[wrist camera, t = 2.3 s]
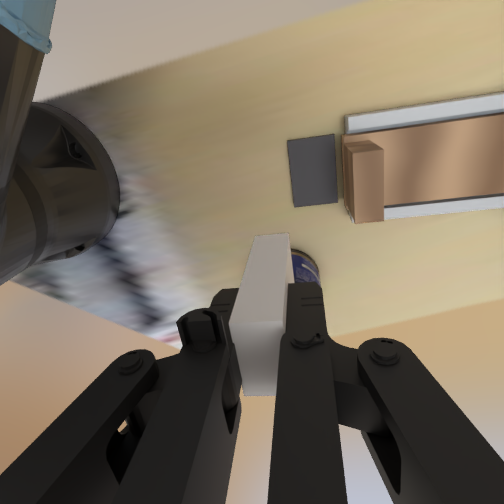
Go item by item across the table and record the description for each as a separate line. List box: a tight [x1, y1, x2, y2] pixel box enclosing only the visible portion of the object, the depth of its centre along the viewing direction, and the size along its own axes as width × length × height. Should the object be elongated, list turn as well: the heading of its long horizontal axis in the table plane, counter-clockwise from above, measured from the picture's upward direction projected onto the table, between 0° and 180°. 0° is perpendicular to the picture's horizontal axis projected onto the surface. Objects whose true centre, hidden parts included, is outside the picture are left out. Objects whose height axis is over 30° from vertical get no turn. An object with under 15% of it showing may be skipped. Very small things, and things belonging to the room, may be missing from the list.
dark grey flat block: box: [287, 134, 338, 207], centre depth 31 cm, size 4×6×1 cm, turn 9°
